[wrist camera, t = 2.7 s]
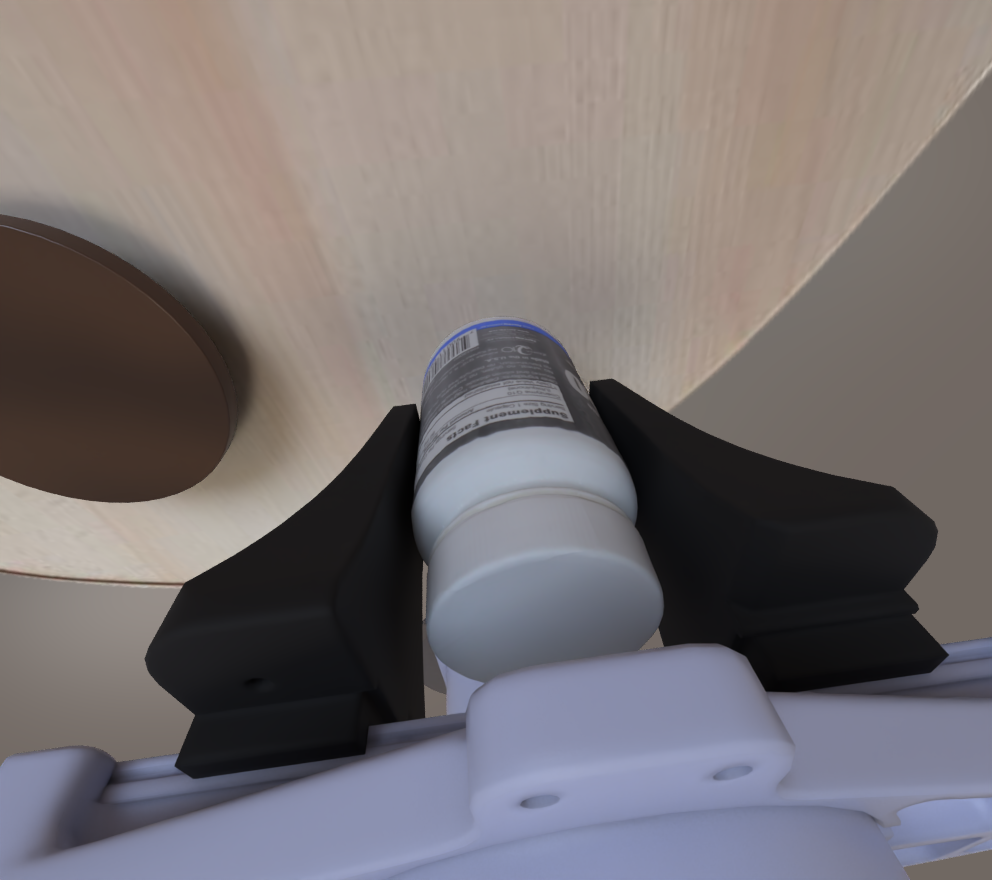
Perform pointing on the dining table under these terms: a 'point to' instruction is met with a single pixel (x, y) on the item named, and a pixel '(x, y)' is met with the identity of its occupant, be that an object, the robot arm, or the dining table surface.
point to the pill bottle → (524, 509)
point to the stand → (102, 375)
